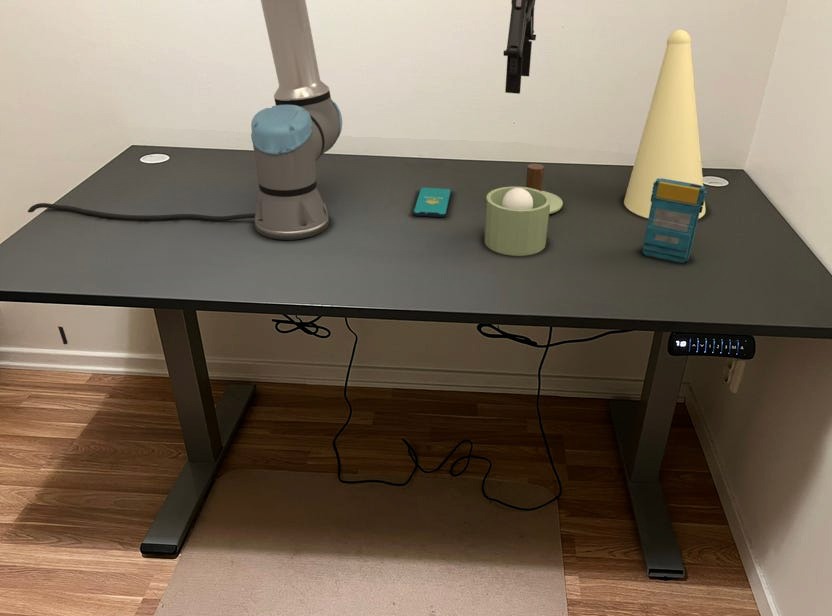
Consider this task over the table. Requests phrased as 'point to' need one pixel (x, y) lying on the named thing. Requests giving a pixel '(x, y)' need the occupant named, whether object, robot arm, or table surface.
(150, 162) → the table surface
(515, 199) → the lightbulb
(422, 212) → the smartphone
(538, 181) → the canister lid
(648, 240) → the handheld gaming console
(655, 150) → the cone light
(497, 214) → the canister
